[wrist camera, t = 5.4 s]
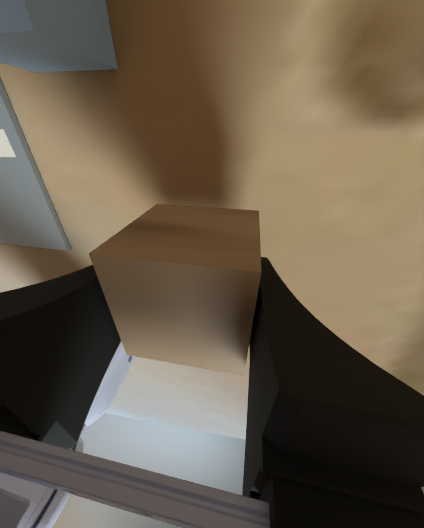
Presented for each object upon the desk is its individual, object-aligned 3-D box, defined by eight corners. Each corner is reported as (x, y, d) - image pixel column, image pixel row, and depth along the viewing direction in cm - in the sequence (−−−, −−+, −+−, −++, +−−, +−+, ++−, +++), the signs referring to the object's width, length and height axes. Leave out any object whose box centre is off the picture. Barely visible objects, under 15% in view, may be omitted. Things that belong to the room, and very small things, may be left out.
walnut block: (247, 292, 12) (243, 375, 8) (167, 283, 13) (126, 354, 9) (258, 210, 9) (261, 272, 5) (156, 204, 10) (88, 253, 6)
